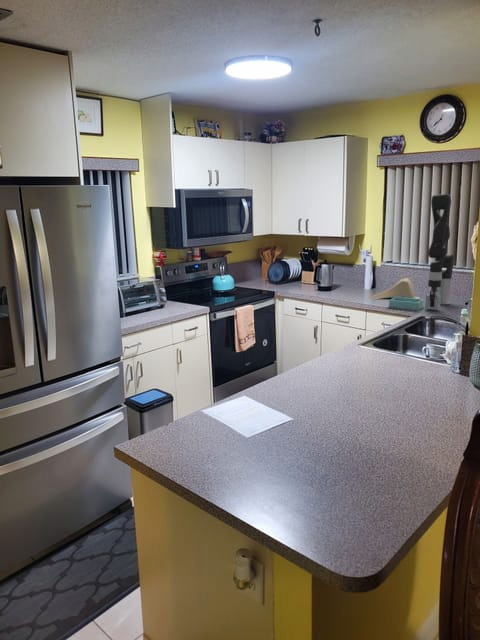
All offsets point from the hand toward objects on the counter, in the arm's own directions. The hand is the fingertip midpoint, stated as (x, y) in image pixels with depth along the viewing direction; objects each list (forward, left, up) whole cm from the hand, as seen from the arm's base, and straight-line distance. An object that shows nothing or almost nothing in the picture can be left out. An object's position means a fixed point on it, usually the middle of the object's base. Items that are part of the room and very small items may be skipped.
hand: (432, 305), depth 306 cm
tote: (0, -16, -3) cm, 16 cm away
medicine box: (0, 0, -2) cm, 2 cm away
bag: (-31, -32, -3) cm, 44 cm away
